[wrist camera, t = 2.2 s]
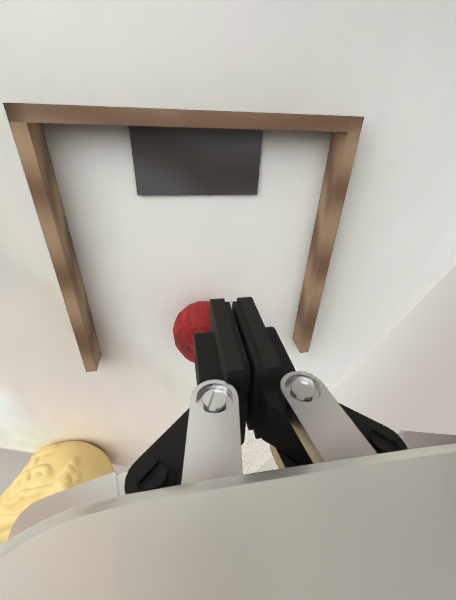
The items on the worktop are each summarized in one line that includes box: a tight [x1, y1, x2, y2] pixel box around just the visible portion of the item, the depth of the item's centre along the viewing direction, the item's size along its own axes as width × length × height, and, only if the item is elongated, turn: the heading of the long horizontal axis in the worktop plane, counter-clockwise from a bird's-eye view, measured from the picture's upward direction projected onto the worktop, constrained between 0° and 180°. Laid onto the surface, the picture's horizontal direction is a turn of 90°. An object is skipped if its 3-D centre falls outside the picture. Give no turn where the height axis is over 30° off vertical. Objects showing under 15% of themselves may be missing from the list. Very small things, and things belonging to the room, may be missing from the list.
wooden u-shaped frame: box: [3, 103, 364, 372], centre depth 27 cm, size 23×24×2 cm
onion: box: [173, 301, 210, 363], centre depth 29 cm, size 6×6×8 cm
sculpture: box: [0, 441, 114, 544], centre depth 37 cm, size 12×12×11 cm
